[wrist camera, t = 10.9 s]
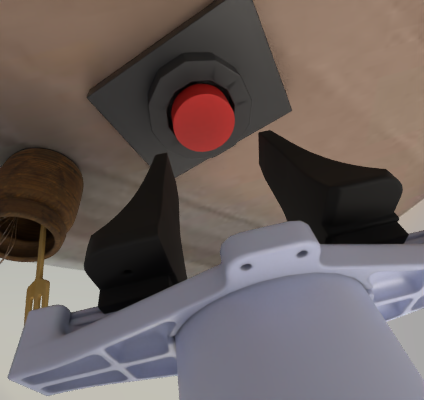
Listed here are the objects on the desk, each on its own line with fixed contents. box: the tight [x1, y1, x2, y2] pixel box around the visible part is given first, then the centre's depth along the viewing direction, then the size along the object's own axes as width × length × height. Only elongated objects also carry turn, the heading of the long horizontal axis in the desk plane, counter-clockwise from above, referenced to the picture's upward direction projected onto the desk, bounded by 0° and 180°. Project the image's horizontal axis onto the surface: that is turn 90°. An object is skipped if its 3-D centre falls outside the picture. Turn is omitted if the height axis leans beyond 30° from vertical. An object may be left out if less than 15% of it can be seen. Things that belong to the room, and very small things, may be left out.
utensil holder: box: [0, 148, 83, 325], centre depth 19 cm, size 6×6×12 cm
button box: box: [87, 0, 292, 178], centre depth 20 cm, size 12×9×3 cm
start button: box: [171, 84, 235, 152], centre depth 18 cm, size 4×4×2 cm
